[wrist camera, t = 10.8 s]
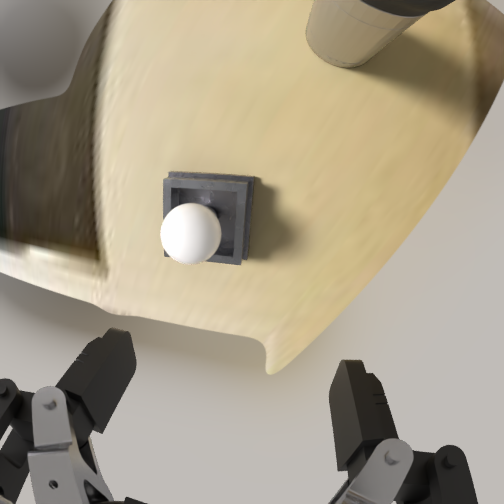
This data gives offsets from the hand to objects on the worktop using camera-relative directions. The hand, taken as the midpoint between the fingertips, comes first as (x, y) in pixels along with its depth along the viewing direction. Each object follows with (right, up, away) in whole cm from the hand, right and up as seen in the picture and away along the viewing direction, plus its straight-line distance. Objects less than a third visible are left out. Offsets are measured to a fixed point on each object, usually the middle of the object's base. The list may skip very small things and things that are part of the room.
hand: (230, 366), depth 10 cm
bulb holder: (-5, +9, +27) cm, 29 cm away
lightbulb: (-5, +9, +26) cm, 28 cm away
